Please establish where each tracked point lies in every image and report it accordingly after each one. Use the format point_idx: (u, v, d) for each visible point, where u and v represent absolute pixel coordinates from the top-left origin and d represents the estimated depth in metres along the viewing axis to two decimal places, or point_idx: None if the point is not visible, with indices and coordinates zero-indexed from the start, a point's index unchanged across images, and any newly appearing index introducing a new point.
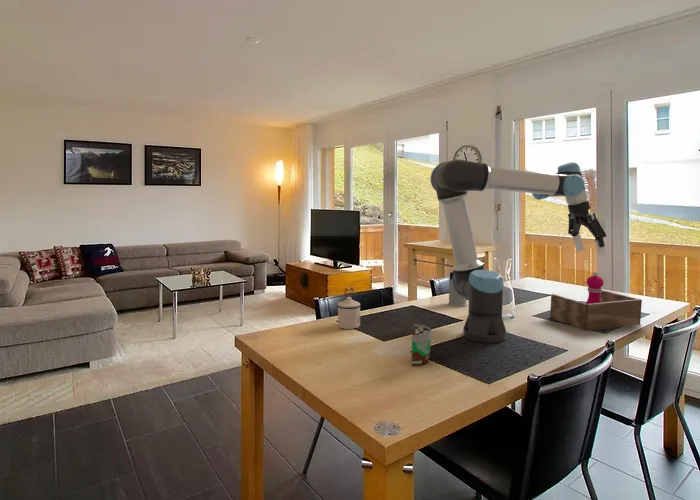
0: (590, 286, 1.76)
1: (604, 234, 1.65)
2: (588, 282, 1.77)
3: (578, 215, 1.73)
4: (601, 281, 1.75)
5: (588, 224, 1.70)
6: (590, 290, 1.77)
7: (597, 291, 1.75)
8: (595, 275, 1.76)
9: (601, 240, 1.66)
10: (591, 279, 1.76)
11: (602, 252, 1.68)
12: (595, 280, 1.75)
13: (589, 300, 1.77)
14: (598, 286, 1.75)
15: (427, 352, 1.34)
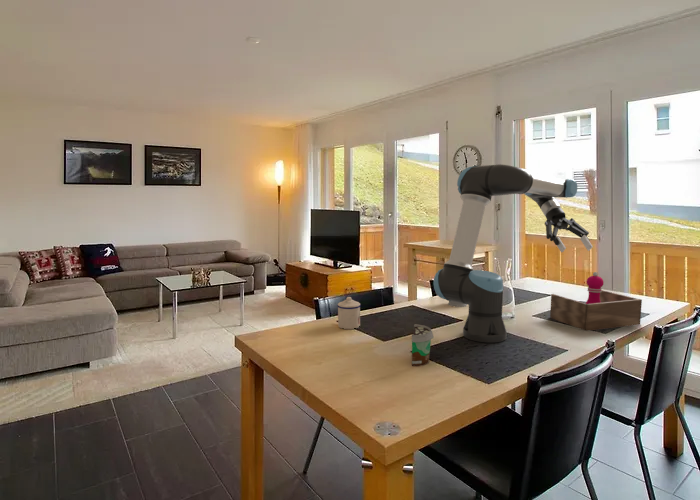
0: (590, 286, 1.76)
1: None
2: (588, 282, 1.77)
3: None
4: (601, 281, 1.75)
5: None
6: (590, 290, 1.77)
7: (597, 291, 1.75)
8: (595, 275, 1.76)
9: None
10: (591, 279, 1.76)
11: None
12: (595, 280, 1.75)
13: (589, 300, 1.77)
14: (598, 286, 1.75)
15: (427, 352, 1.34)
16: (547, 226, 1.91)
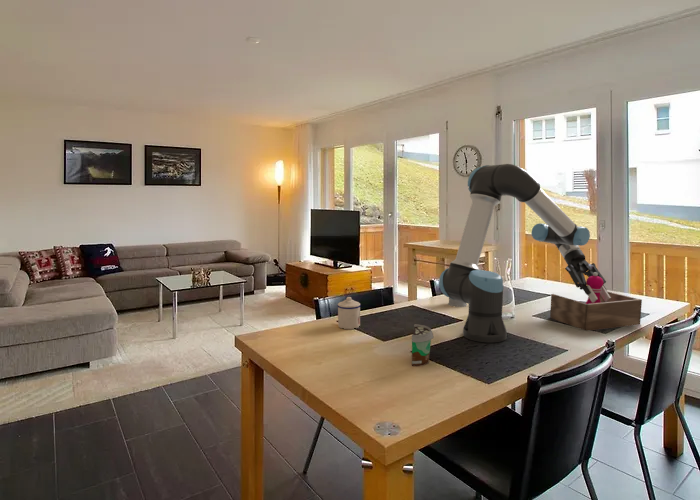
0: (590, 286, 1.76)
1: None
2: (588, 282, 1.77)
3: (579, 262, 1.84)
4: (601, 281, 1.75)
5: None
6: None
7: (597, 291, 1.75)
8: (595, 275, 1.76)
9: None
10: (591, 279, 1.76)
11: None
12: (595, 280, 1.75)
13: (589, 300, 1.77)
14: (598, 286, 1.75)
15: (427, 352, 1.34)
16: (571, 273, 1.81)
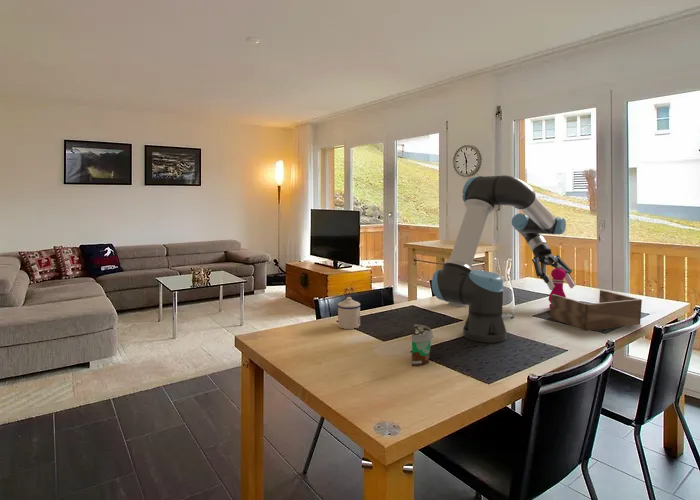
0: (554, 277, 1.96)
1: None
2: (552, 274, 1.96)
3: (546, 255, 2.03)
4: (563, 273, 1.94)
5: None
6: (554, 281, 1.96)
7: (560, 282, 1.94)
8: (558, 267, 1.95)
9: None
10: (555, 271, 1.95)
11: None
12: (558, 272, 1.94)
13: (553, 290, 1.97)
14: (561, 277, 1.94)
15: (427, 352, 1.34)
16: (535, 263, 2.00)
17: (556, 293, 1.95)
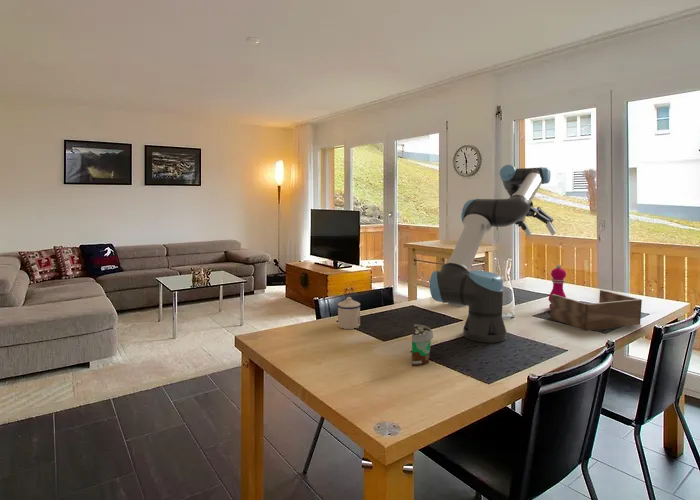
0: (554, 277, 1.96)
1: None
2: (552, 274, 1.96)
3: None
4: (563, 273, 1.94)
5: None
6: (554, 281, 1.96)
7: (560, 282, 1.94)
8: (558, 267, 1.95)
9: None
10: (555, 271, 1.95)
11: None
12: (558, 272, 1.94)
13: (553, 290, 1.97)
14: (561, 277, 1.94)
15: (427, 352, 1.34)
16: None
17: (556, 293, 1.95)
